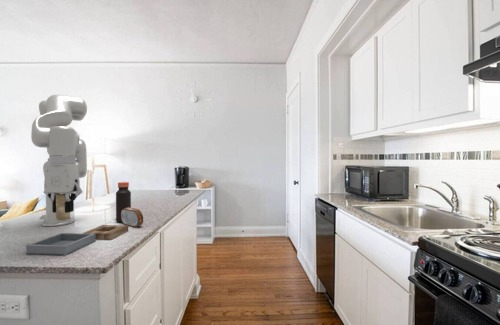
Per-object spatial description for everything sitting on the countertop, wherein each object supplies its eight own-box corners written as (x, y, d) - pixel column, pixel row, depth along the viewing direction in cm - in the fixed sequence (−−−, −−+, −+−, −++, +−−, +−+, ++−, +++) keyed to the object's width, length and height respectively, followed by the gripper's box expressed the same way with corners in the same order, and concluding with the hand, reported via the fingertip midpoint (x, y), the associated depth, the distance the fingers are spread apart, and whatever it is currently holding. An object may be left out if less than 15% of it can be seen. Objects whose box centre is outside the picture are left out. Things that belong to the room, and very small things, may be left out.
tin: (143, 227, 114) (143, 209, 114) (137, 228, 112) (137, 210, 112) (125, 222, 123) (125, 206, 122) (119, 224, 120) (119, 207, 120)
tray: (26, 254, 81) (26, 245, 81) (61, 240, 95) (61, 232, 95) (65, 255, 80) (65, 246, 80) (95, 241, 94) (95, 233, 94)
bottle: (125, 223, 121) (124, 183, 121) (112, 222, 122) (112, 183, 122) (133, 220, 128) (133, 182, 127) (122, 219, 129) (122, 181, 129)
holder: (82, 239, 97) (82, 232, 97) (102, 230, 109) (102, 224, 109) (111, 239, 96) (111, 233, 96) (128, 231, 108) (128, 225, 108)
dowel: (53, 220, 86) (52, 195, 86) (62, 217, 90) (62, 193, 90) (63, 220, 86) (63, 195, 85) (72, 217, 90) (72, 193, 89)
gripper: (30, 161, 84) (31, 214, 84) (76, 160, 83) (77, 214, 83) (50, 161, 92) (50, 209, 92) (92, 161, 91) (92, 210, 91)
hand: (63, 211), depth 88 cm, fingers closed on dowel, 4 cm apart
